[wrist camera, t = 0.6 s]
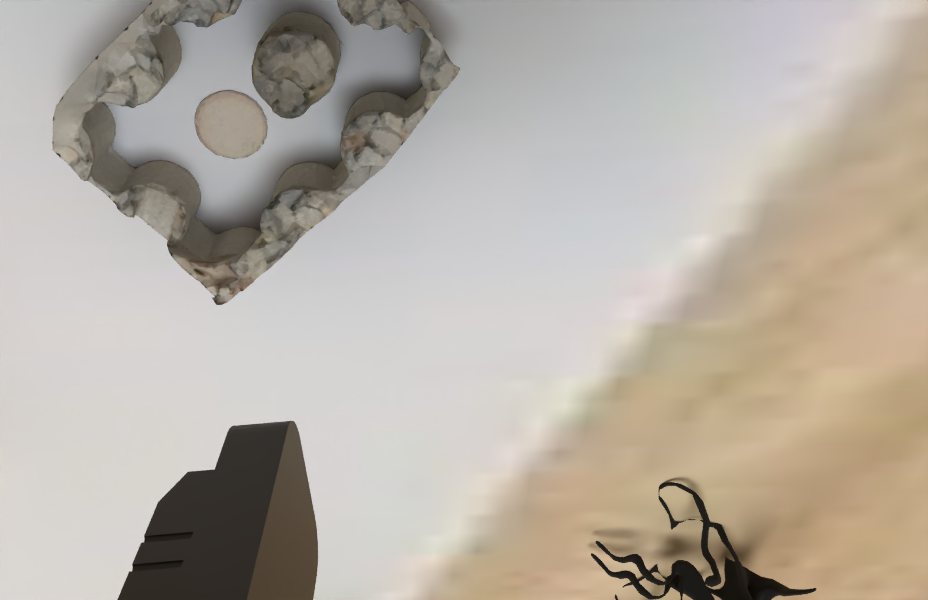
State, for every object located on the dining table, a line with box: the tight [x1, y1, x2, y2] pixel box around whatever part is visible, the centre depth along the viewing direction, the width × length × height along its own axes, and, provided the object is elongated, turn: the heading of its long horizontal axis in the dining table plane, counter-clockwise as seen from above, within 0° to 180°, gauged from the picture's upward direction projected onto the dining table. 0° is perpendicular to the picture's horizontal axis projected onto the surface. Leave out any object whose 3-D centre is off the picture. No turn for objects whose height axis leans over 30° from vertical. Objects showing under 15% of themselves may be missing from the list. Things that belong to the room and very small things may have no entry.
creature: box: [591, 482, 816, 600], centre depth 35 cm, size 8×5×8 cm
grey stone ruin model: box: [53, 0, 460, 305], centre depth 25 cm, size 10×7×4 cm
